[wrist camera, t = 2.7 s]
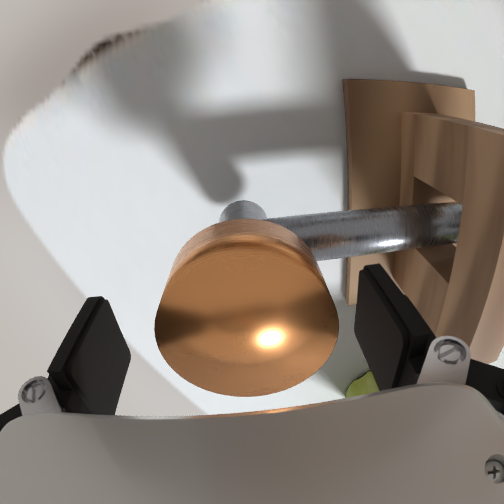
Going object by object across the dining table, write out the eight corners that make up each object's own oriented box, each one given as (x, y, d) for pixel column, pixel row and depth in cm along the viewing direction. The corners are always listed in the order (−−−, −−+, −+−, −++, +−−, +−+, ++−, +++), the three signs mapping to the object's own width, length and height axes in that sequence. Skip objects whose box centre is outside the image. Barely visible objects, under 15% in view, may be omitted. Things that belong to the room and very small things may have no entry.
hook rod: (474, 161, 17) (583, 217, 9) (464, 240, 20) (549, 320, 11) (184, 181, 18) (131, 270, 9) (202, 272, 20) (180, 400, 12)
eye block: (467, 89, 17) (587, 112, 7) (450, 281, 24) (520, 367, 14) (342, 79, 17) (445, 71, 7) (345, 299, 24) (394, 413, 15)
